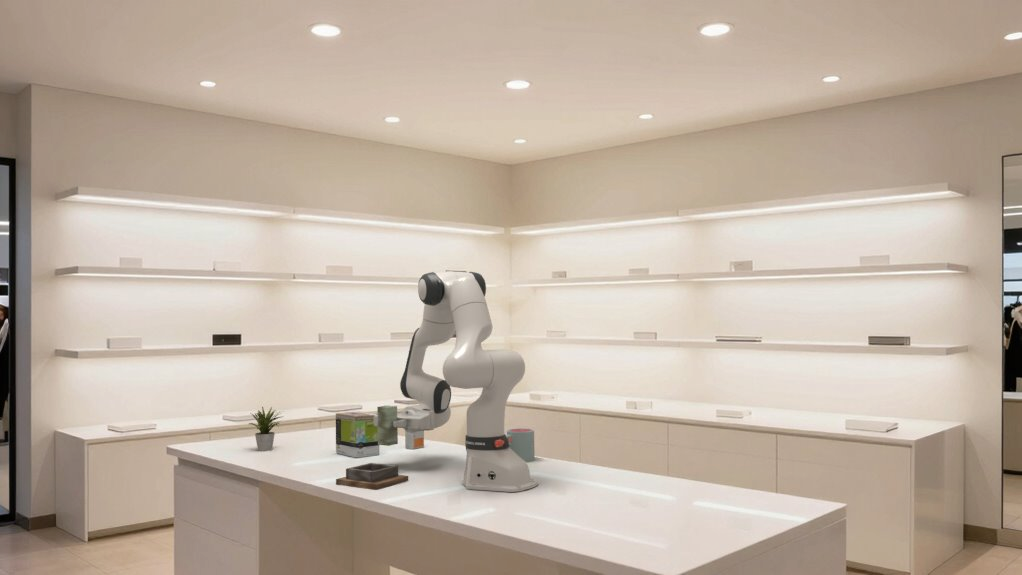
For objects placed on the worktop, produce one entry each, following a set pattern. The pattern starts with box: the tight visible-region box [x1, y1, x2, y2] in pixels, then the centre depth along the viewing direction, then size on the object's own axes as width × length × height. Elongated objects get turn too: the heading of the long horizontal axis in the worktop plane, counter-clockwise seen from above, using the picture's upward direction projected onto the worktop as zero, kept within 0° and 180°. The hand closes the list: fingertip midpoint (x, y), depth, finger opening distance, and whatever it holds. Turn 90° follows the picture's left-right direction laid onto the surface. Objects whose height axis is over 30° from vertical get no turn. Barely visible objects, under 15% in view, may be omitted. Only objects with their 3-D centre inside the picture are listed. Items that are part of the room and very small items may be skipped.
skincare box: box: [404, 429, 425, 450], centre depth 311 cm, size 6×4×12 cm
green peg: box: [376, 405, 399, 447], centre depth 266 cm, size 4×4×12 cm
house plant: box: [248, 406, 285, 452], centre depth 312 cm, size 14×14×16 cm
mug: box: [505, 427, 536, 463], centre depth 281 cm, size 14×9×10 cm
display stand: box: [335, 462, 409, 491], centre depth 249 cm, size 16×14×4 cm
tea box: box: [335, 411, 380, 459], centre depth 300 cm, size 15×10×15 cm, turn 40°
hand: (385, 424), depth 265 cm, fingers closed on green peg, 4 cm apart
